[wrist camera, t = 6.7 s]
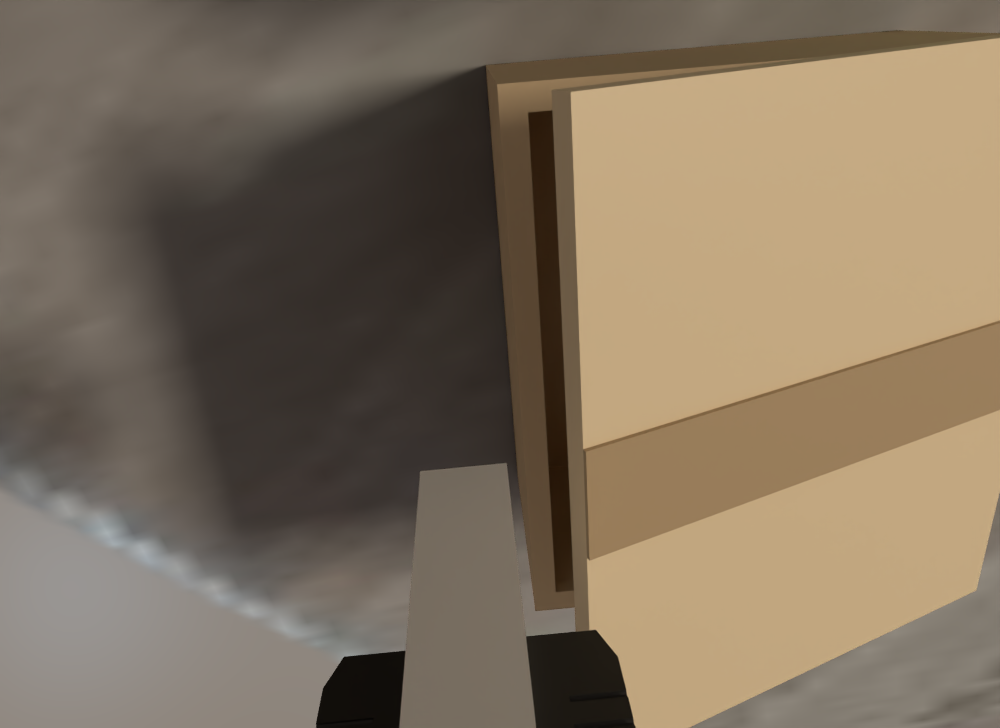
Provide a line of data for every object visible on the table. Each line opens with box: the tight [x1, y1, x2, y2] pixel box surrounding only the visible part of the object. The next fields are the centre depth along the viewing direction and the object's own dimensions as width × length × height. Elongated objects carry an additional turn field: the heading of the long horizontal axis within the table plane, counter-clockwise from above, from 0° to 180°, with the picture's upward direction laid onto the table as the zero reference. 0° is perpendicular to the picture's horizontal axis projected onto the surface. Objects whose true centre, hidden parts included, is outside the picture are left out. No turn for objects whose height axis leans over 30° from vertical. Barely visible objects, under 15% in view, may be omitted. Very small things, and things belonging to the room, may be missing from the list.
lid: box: [552, 35, 1000, 728], centre depth 16 cm, size 14×12×1 cm
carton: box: [486, 30, 1000, 611], centre depth 22 cm, size 14×12×7 cm
